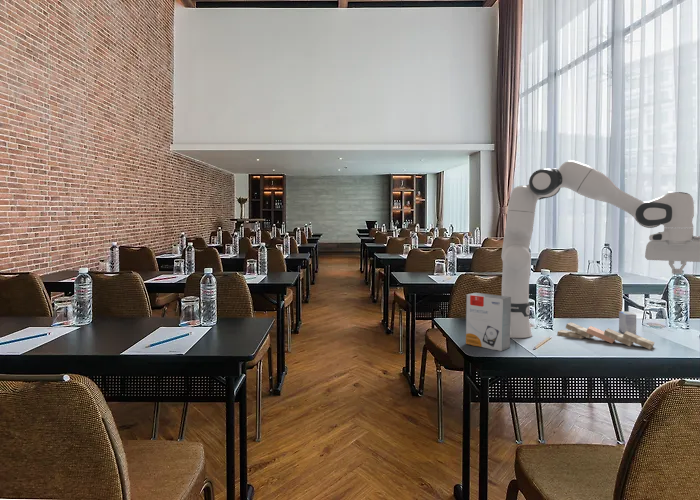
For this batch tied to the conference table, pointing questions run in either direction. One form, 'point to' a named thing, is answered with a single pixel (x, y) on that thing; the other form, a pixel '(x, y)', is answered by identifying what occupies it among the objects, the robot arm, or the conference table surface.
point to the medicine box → (627, 322)
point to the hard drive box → (488, 321)
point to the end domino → (638, 340)
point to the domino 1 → (570, 334)
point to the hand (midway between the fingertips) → (677, 273)
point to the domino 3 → (599, 334)
